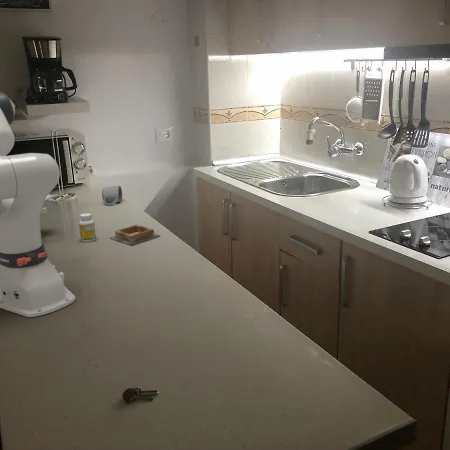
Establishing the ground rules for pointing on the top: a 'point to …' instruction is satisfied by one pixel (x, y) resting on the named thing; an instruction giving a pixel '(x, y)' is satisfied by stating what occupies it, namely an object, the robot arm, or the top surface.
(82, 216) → the supplement bottle
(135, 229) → the wooden tray
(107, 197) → the ceramic mug
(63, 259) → the top surface
